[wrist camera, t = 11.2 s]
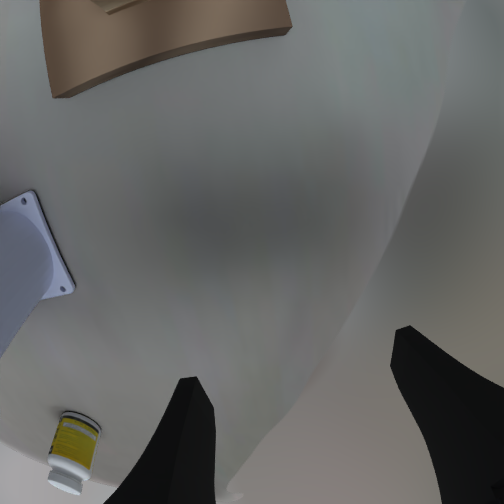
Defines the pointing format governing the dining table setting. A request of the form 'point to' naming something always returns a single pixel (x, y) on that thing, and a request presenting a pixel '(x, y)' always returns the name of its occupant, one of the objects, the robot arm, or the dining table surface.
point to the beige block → (116, 5)
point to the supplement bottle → (73, 452)
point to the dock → (144, 35)
